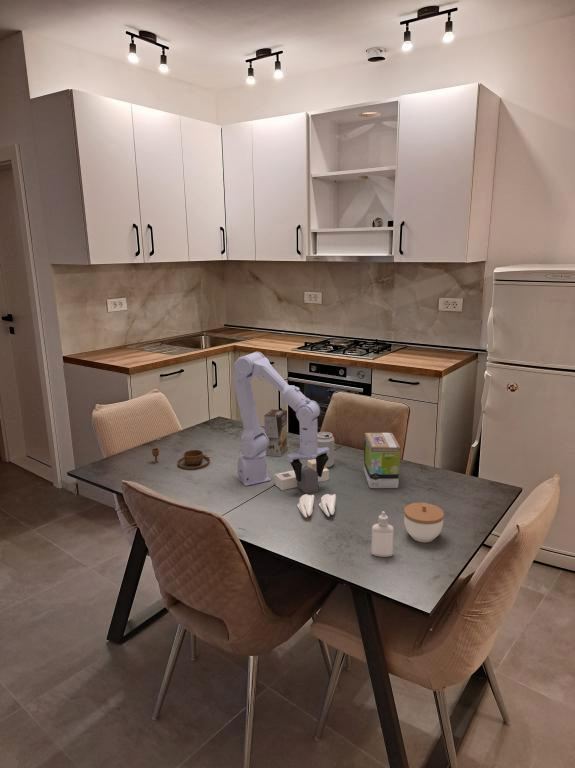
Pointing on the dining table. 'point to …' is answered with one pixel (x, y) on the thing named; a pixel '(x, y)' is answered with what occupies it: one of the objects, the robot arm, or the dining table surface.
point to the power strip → (294, 479)
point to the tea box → (381, 460)
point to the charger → (308, 480)
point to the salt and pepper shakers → (326, 500)
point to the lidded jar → (423, 521)
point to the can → (326, 441)
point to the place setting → (188, 458)
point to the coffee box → (276, 432)
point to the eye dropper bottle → (382, 537)
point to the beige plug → (312, 464)
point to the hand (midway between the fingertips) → (308, 478)
